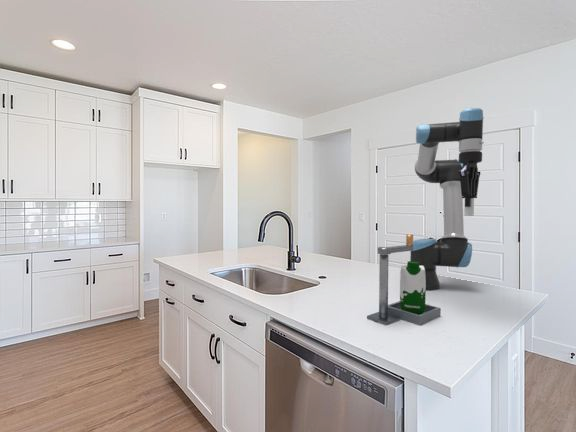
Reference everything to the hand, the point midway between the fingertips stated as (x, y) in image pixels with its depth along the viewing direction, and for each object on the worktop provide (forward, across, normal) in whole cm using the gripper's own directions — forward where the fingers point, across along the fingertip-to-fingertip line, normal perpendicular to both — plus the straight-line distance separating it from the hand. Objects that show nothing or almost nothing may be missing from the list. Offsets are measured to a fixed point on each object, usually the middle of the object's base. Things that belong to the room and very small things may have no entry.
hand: (468, 215), depth 119 cm
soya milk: (+37, -19, +11) cm, 43 cm away
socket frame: (+36, -19, +11) cm, 43 cm away
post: (+36, -31, +15) cm, 50 cm away
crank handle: (+13, -25, +14) cm, 31 cm away
